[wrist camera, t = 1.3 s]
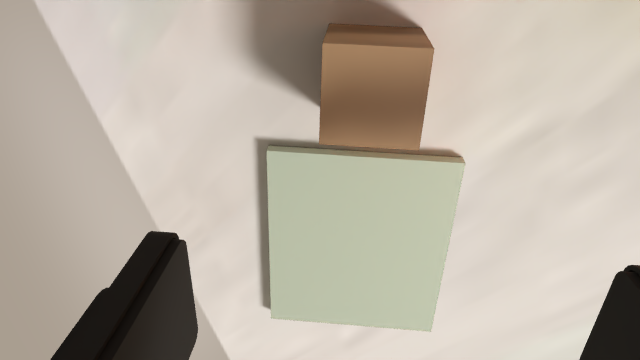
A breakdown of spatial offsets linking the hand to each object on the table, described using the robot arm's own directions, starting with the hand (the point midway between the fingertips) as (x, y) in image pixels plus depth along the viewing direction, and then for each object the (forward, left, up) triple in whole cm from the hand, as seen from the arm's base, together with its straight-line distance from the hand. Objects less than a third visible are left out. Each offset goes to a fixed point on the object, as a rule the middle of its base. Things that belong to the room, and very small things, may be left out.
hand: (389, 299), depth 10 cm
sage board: (+12, 0, -18) cm, 22 cm away
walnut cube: (0, 0, -18) cm, 18 cm away
